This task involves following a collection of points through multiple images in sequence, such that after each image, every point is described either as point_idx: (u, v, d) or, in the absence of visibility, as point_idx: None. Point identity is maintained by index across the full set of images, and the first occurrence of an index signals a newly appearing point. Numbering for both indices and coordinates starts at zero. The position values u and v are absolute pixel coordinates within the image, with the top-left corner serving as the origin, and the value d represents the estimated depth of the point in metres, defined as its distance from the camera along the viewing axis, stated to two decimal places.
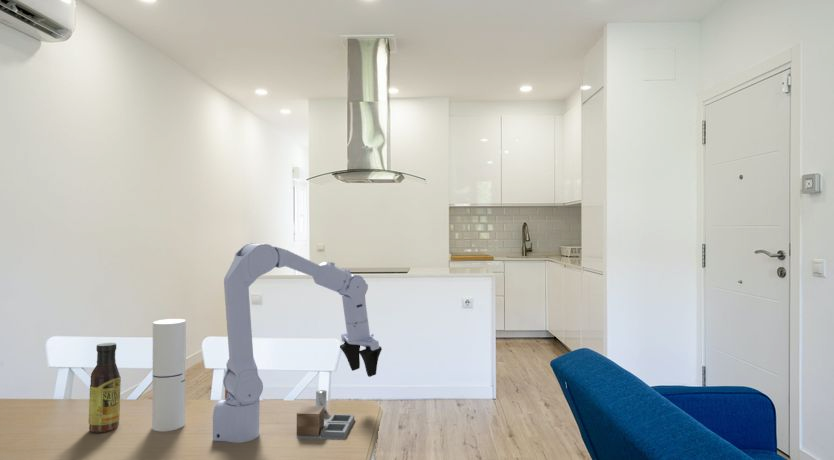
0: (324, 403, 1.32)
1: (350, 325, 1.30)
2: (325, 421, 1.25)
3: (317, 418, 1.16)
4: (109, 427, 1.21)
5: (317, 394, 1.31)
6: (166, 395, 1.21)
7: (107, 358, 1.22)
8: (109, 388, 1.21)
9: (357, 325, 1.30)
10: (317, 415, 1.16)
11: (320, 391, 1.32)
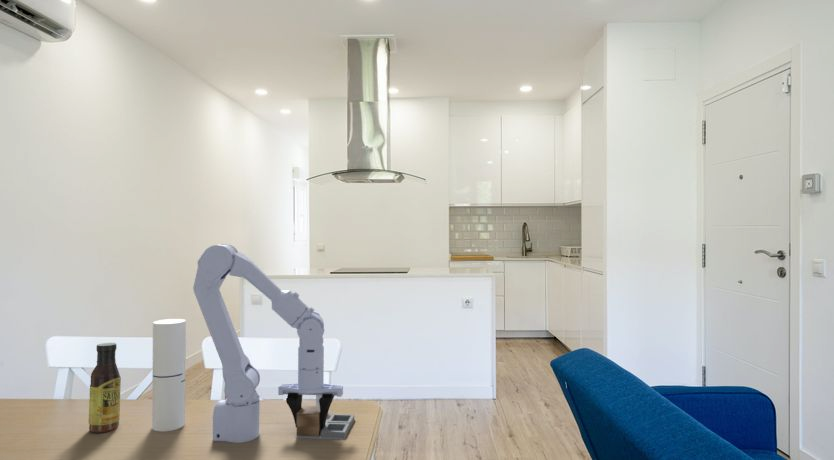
0: None
1: (313, 371, 1.16)
2: None
3: (317, 418, 1.16)
4: (109, 427, 1.21)
5: None
6: (166, 395, 1.21)
7: (107, 358, 1.22)
8: (109, 388, 1.21)
9: (319, 371, 1.17)
10: (317, 415, 1.16)
11: None
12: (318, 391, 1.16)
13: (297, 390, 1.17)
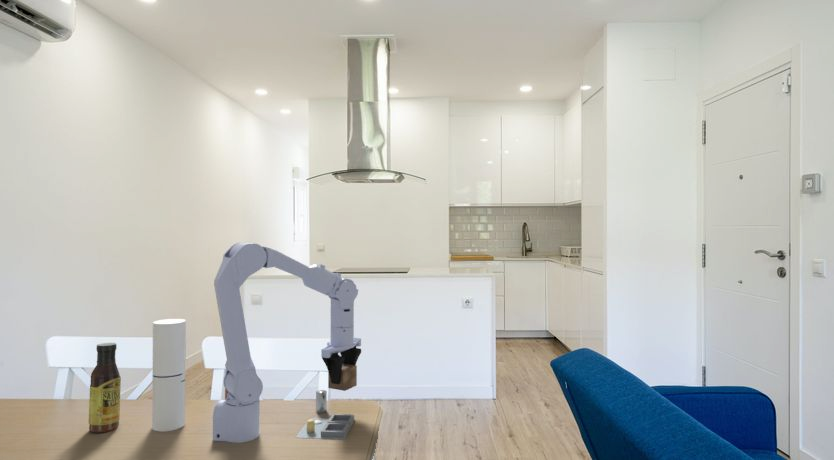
0: (324, 403, 1.31)
1: (353, 327, 1.30)
2: (325, 421, 1.25)
3: (355, 369, 1.31)
4: (109, 427, 1.21)
5: (317, 394, 1.31)
6: (166, 395, 1.21)
7: (107, 358, 1.22)
8: (109, 388, 1.21)
9: None
10: (355, 367, 1.31)
11: (320, 391, 1.32)
12: (355, 344, 1.31)
13: (344, 347, 1.27)
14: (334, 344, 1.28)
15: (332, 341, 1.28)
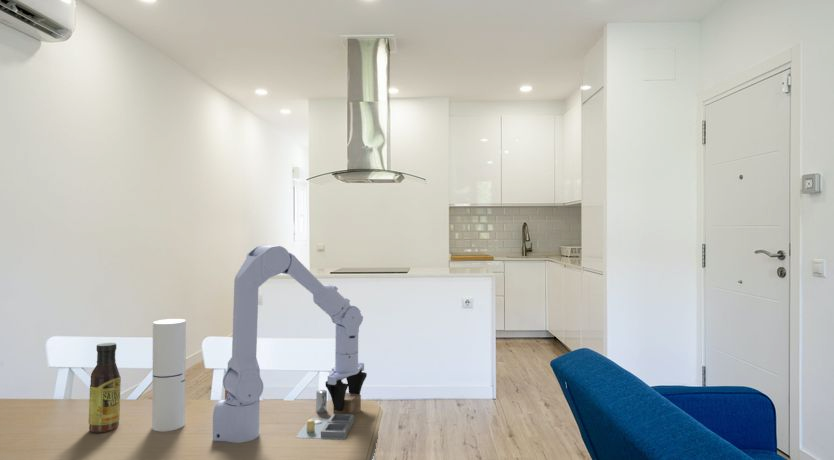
0: (324, 403, 1.31)
1: None
2: (325, 421, 1.25)
3: (360, 398, 1.33)
4: (109, 427, 1.21)
5: (317, 394, 1.31)
6: (166, 395, 1.21)
7: (107, 358, 1.22)
8: (109, 388, 1.21)
9: None
10: (360, 396, 1.33)
11: (321, 391, 1.32)
12: (359, 369, 1.33)
13: (350, 373, 1.29)
14: (339, 370, 1.29)
15: (337, 367, 1.30)
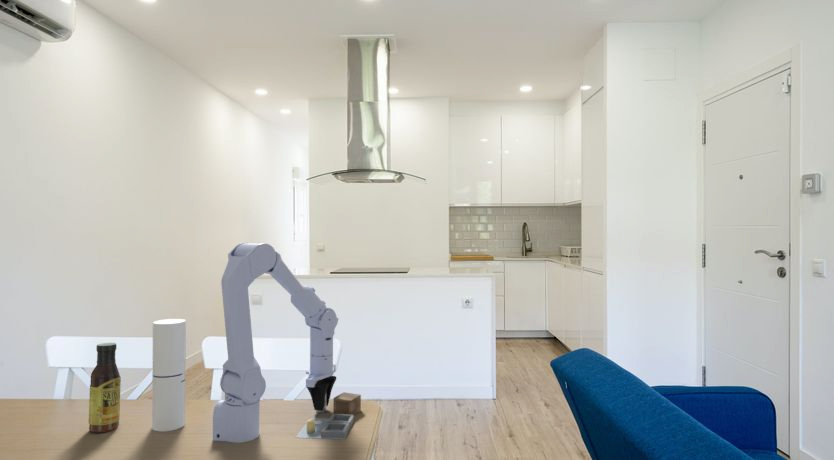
0: (324, 403, 1.31)
1: (332, 354, 1.33)
2: (325, 421, 1.25)
3: (360, 398, 1.33)
4: (109, 427, 1.21)
5: None
6: (166, 395, 1.21)
7: (107, 358, 1.22)
8: (109, 388, 1.21)
9: None
10: (360, 396, 1.33)
11: None
12: (333, 371, 1.34)
13: (326, 375, 1.30)
14: (315, 373, 1.30)
15: (312, 369, 1.30)
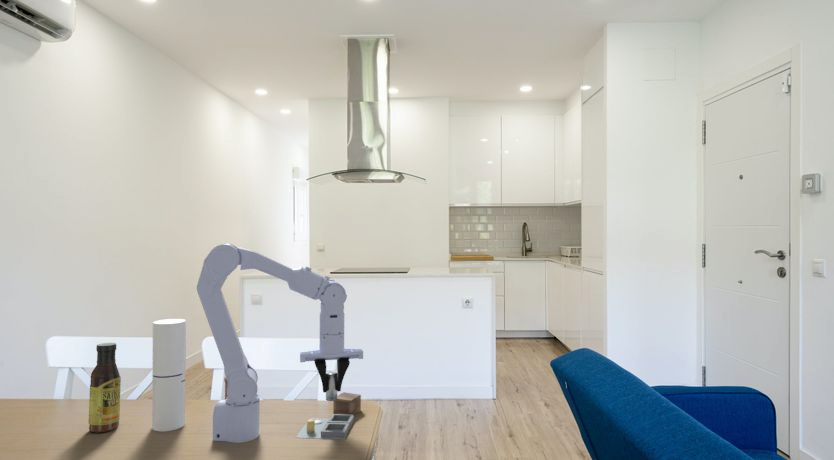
0: (328, 386, 1.21)
1: (338, 335, 1.20)
2: (325, 421, 1.25)
3: (360, 398, 1.33)
4: (109, 427, 1.21)
5: None
6: (166, 395, 1.21)
7: (107, 358, 1.22)
8: (109, 388, 1.21)
9: (343, 335, 1.21)
10: (360, 396, 1.33)
11: (331, 373, 1.22)
12: (343, 354, 1.20)
13: (322, 355, 1.19)
14: (319, 350, 1.22)
15: None
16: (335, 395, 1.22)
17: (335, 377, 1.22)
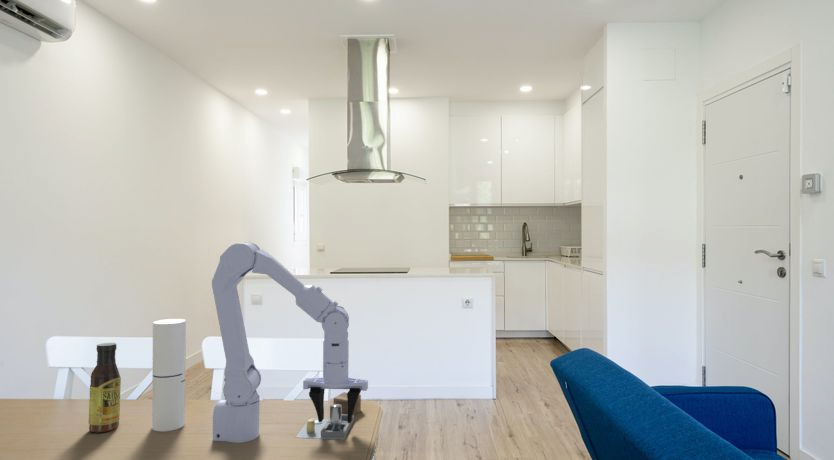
0: (331, 419, 1.18)
1: (338, 365, 1.16)
2: (325, 421, 1.25)
3: (360, 398, 1.33)
4: (109, 427, 1.21)
5: None
6: (166, 395, 1.21)
7: (107, 358, 1.22)
8: (109, 387, 1.21)
9: (345, 365, 1.17)
10: (360, 396, 1.33)
11: (335, 405, 1.19)
12: (343, 385, 1.16)
13: (322, 384, 1.16)
14: None
15: None
16: (338, 429, 1.18)
17: (338, 410, 1.18)
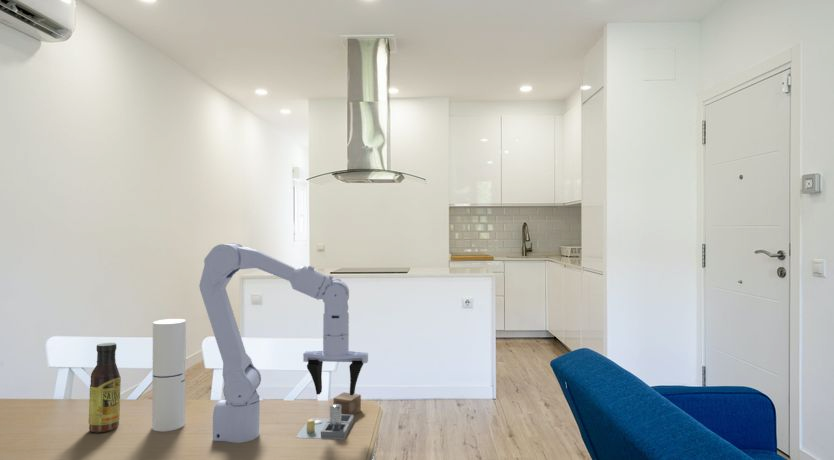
0: (331, 419, 1.18)
1: (338, 337, 1.16)
2: (325, 421, 1.25)
3: (360, 398, 1.33)
4: (109, 427, 1.21)
5: None
6: (166, 395, 1.21)
7: (107, 358, 1.22)
8: (109, 388, 1.21)
9: (345, 337, 1.17)
10: (360, 396, 1.33)
11: (335, 405, 1.19)
12: (344, 357, 1.16)
13: (322, 356, 1.16)
14: None
15: None
16: (338, 429, 1.18)
17: (338, 410, 1.18)
